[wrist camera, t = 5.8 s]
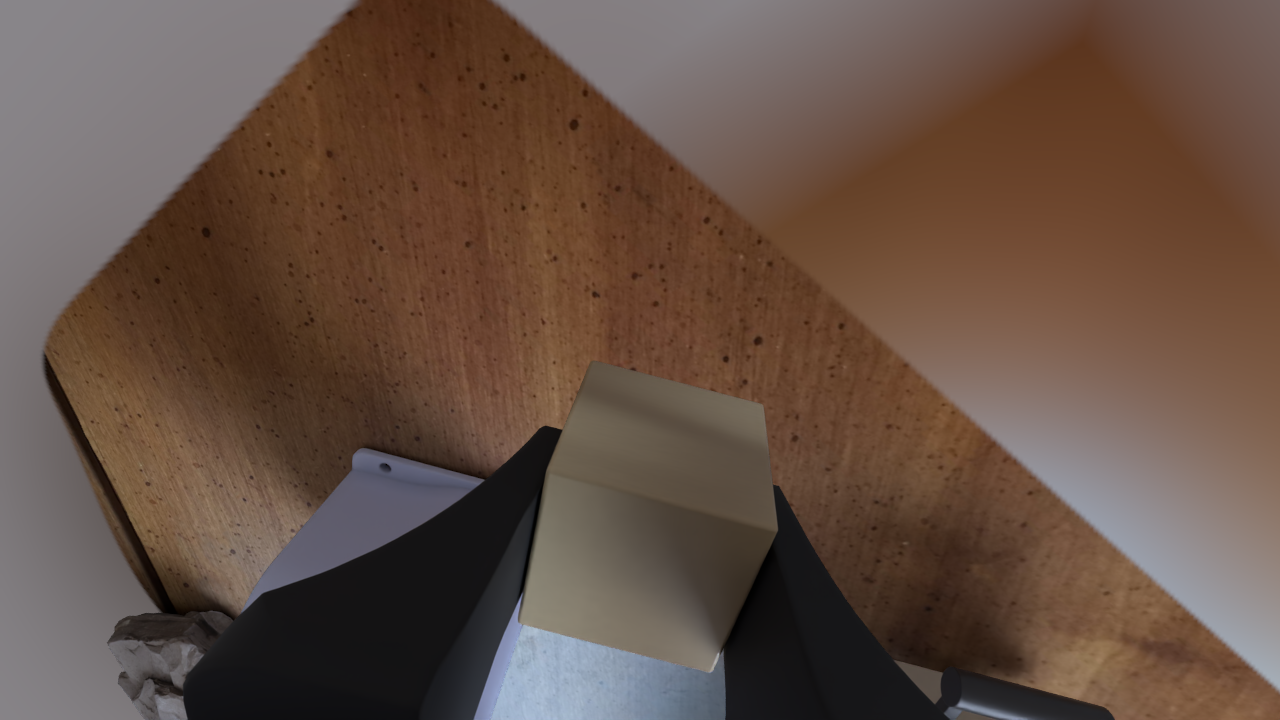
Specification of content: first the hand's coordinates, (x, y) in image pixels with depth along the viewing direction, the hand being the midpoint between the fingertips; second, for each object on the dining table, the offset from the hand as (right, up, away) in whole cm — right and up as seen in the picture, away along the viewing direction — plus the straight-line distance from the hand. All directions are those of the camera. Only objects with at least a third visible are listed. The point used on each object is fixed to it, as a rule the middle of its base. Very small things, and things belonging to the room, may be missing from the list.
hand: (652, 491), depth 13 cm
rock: (-20, -18, +20) cm, 33 cm away
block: (0, +1, +1) cm, 1 cm away
